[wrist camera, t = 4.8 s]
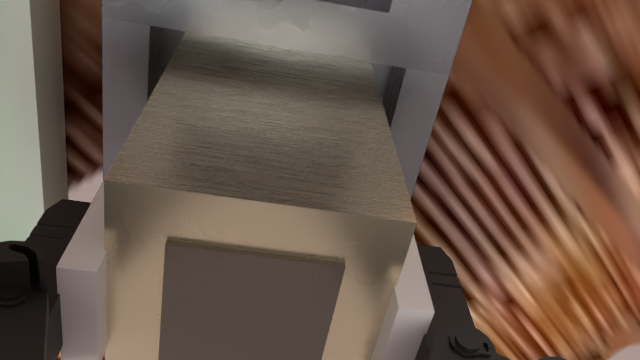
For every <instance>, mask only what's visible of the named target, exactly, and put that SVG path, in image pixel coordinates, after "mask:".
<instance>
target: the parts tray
mask: <svg viewBox="0 0 640 360" xmlns="http://www.w3.org/2000/svg"><path fill="white" fill-rule="evenodd" d="M62 199H66V200H68V180H67V157H66V135H65V112H64V89H63V66H62V44H61V21H60V0H0V242H3V241H10V240H12V241H26V239H27V237H29V236H30V233H31V231H32V230H33V228H34V227H35V226H37V222H38V221H39V219H40V218H41V216H42V215H43V213H44V212H45V210H46V209H48V208H49V207H51V206H52V205H54V204H55V203H57V202H59V201H60V200H62Z"/></svg>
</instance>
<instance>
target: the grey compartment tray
mask: <svg viewBox="0 0 640 360" xmlns="http://www.w3.org/2000/svg"><path fill="white" fill-rule="evenodd" d="M471 3H472V0H102V87H103V181H104V179H105V177H106V175H107V174H108V172H109V170H110V168H111V166H112V165H113V163H114V161H115V159H116V157H117V155H118V154H119V152H120V150H121V148H122V146H123V145H124V143H125V141H126V139H127V137H128V135H129V134H130V132H131V130H132V128H133V126H134V125H135V123H136V121H137V119H138V118H139V116H140V114H141V112H142V110H143V109H144V107H145V105H146V103H147V101H148V99H149V98H150V96H151V94H152V92H153V90H154V89H155V87H156V85H157V83H158V81H159V80H160V78H161V76H162V74H163V72H164V70H165V69H166V67H167V65H168V63H169V61H170V60H171V58H172V56H173V54H174V52H175V51H176V49H177V47H178V45H179V43H180V41H181V40H182V38H183V36H184V34H185V32H187V33H193V34H199V35H205V36H211V37H217V38H223V39H229V40H235V41H241V42H247V43H253V44H259V45H265V46H271V47H277V48H283V49H289V50H295V51H301V52H307V53H313V54H319V55H325V56H331V57H337V58H343V59H349V60H355V61H361V62H367V63H371V65H372V68H373V72H374V75H375V79H376V82H377V86H378V89H379V93H380V96H381V100H382V103H383V107H384V110H385V114H386V117H387V120H388V124H389V127H390V131H391V134H392V138H393V141H394V145H395V148H396V152H397V155H398V159H399V162H400V166H401V169H402V172H403V176H404V179H405V183H406V186H407V190H408V193H409V197H410V199H411V196H412V193H413V190H414V186H415V183H416V180H417V177H418V173H419V170H420V167H421V164H422V161H423V157H424V154H425V151H426V148H427V144H428V141H429V138H430V135H431V132H432V128H433V125H434V122H435V119H436V115H437V112H438V109H439V106H440V103H441V99H442V96H443V93H444V90H445V86H446V83H447V80H448V77H449V74H450V70H451V67H452V64H453V61H454V57H455V54H456V51H457V48H458V44H459V41H460V38H461V35H462V32H463V28H464V25H465V22H466V19H467V15H468V12H469V9H470V6H471Z"/></svg>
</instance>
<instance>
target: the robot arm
mask: <svg viewBox="0 0 640 360" xmlns="http://www.w3.org/2000/svg"><path fill="white" fill-rule="evenodd" d="M133 127H134V126H133ZM132 129H133V128H132ZM128 136H129V135H128ZM127 138H128V137H127ZM122 147H123V146H122ZM117 156H118V155H117ZM116 158H117V157H116ZM111 167H112V166H111ZM106 176H107V175H106ZM106 347H107V251H105V250H104V181H103V183H102V185H101V186H100V188H99V190H98V192H97V194H96V196H95V197H94V199H93V201H92V203H89V202H80V201H73V200H66V199H62V200H60V201H59V202H57V203H55V204H54V205H52V206H51V207H49V208H48V209H46V210H45V212H44V213H43V215H42V216H41V218H40V219H39V221H38V222H37V226H35V227H34V228H33V230H32V231H31V233H30V236H29V237H27V239H26V241H12V240H10V241H3V242H0V360H56V359H57V357H58V354H59V352H60V350H61V358H62V360H102V358H103V355H104V353H105V350H106ZM371 360H510V359H508V358H505V357H503V356H501V355H499V354H498V353H496V350H495V346H494V345H493V343H492V342H491V340H490V339H489V338H488V337H487V336H486V335H485V334H483V333H482V332H481V331H480V330H478V329H476V328H475V326H474V323H473V320H472V317H471V314H470V311H469V309H468V306H467V303H466V300H465V297H464V294H463V291H462V289H461V285H460V282H459V279H458V278H457V273H456V271H455V268H454V265H453V262H452V260H451V259H450V258H449V257H448V256H447V254H446V253H445V252H444V251H443V250H442V249H441V248H440V247H433V246H426V245H418V244H416V241H415V237H414V234H413V237H412V240H411V243H410V246H409V249H408V253H407V256H406V259H405V262H404V265H403V268H402V271H401V274H400V277H399V280H398V283H397V286H394V289H393V292H392V295H391V299H390V302H389V305H388V308H387V311H386V314H385V317H384V320H383V323H382V326H381V330H380V333H379V336H378V339H377V342H376V345H375V348H374V351H373V354H372V357H371ZM539 360H565V359H562V358H559V357H544V358H541V359H539Z"/></svg>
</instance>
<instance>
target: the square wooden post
mask: <svg viewBox="0 0 640 360" xmlns="http://www.w3.org/2000/svg"><path fill="white" fill-rule="evenodd" d="M416 225H417V221H416V218H415V214H414V211H413V207H412V204H411V200H410V197H409V193H408V190H407V186H406V183H405V179H404V176H403V172H402V169H401V166H400V162H399V159H398V155H397V152H396V148H395V145H394V141H393V138H392V134H391V131H390V127H389V124H388V120H387V117H386V114H385V110H384V107H383V103H382V100H381V96H380V93H379V89H378V86H377V82H376V79H375V75H374V72H373V68H372V65H371V63H367V62H361V61H355V60H349V59H343V58H337V57H331V56H325V55H319V54H313V53H307V52H301V51H295V50H289V49H283V48H277V47H271V46H265V45H259V44H253V43H247V42H241V41H235V40H229V39H223V38H217V37H211V36H205V35H199V34H193V33H187V32H185V34H184V36H183V38H182V40H181V41H180V43H179V45H178V47H177V49H176V51H175V52H174V54H173V56H172V58H171V60H170V61H169V63H168V65H167V67H166V69H165V70H164V72H163V74H162V76H161V78H160V80H159V81H158V83H157V85H156V87H155V89H154V90H153V92H152V94H151V96H150V98H149V99H148V101H147V103H146V105H145V107H144V109H143V110H142V112H141V114H140V116H139V118H138V119H137V121H136V123H135V125H134V127H133V129H132V130H131V132H130V134H129V136H128V138H127V139H126V141H125V143H124V145H123V147H122V148H121V150H120V152H119V154H118V156H117V158H116V159H115V161H114V163H113V165H112V167H111V168H110V170H109V172H108V174H107V176H106V177H105V179H104V250H105V251H107V347H106V350H105V360H371V357H372V354H373V351H374V348H375V345H376V342H377V339H378V336H379V333H380V330H381V326H382V323H383V320H384V317H385V314H386V311H387V308H388V305H389V302H390V299H391V295H392V292H393V289H394V286H397V283H398V280H399V277H400V274H401V271H402V268H403V265H404V262H405V259H406V256H407V253H408V249H409V246H410V243H411V240H412V237H413V234H414V231H415V228H416Z"/></svg>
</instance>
